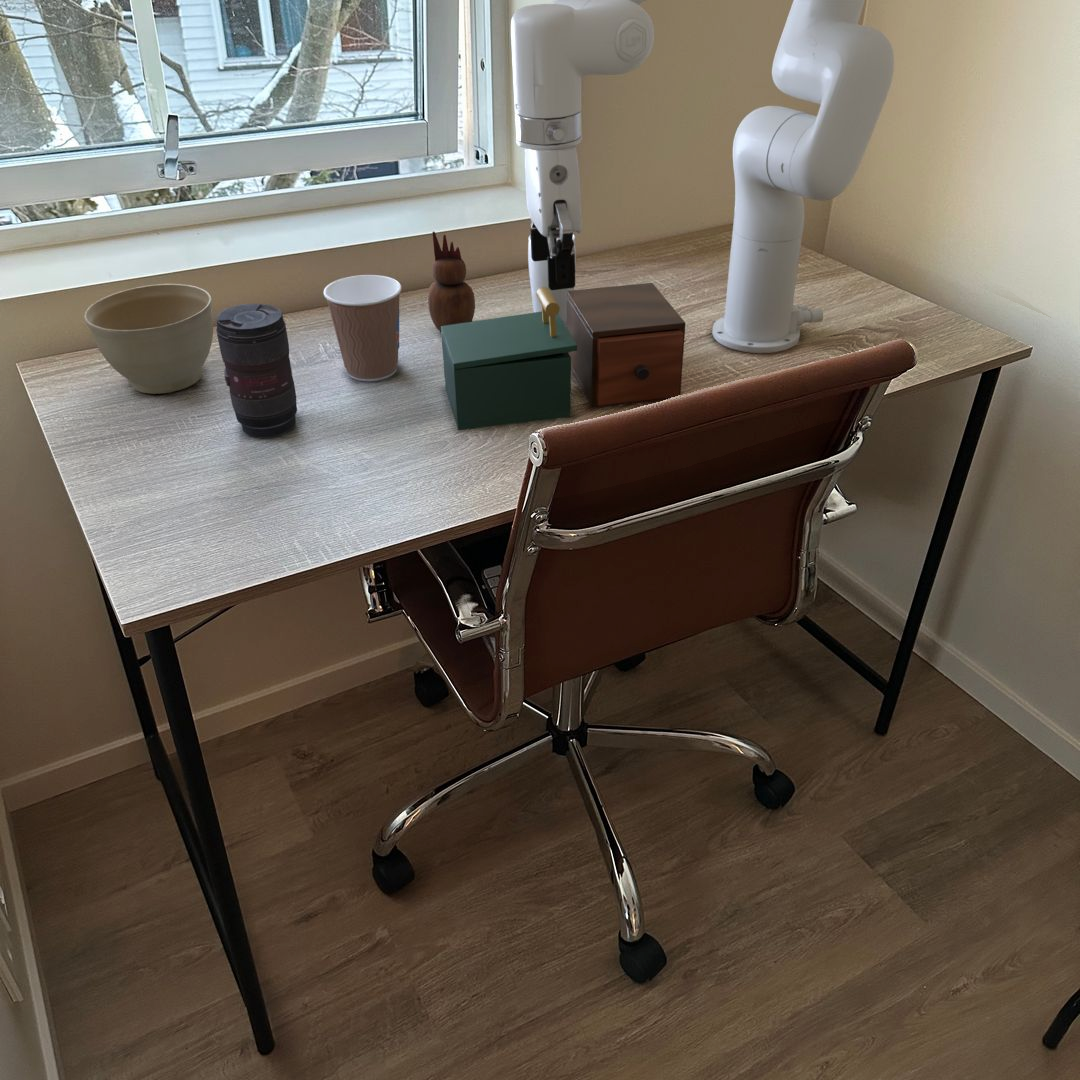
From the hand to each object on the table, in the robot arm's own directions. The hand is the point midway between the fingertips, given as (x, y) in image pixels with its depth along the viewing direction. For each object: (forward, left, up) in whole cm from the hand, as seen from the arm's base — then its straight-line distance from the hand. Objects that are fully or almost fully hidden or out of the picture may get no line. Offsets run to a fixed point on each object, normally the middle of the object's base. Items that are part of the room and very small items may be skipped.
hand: (552, 273), depth 126 cm
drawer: (-10, 0, -16) cm, 19 cm away
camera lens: (+37, -1, -17) cm, 41 cm away
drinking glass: (-4, -19, -17) cm, 26 cm away
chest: (+6, 0, -17) cm, 18 cm away
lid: (+6, 0, -8) cm, 10 cm away
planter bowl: (+51, -18, -17) cm, 57 cm away
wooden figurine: (+10, -25, -17) cm, 32 cm away
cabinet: (-10, -3, -17) cm, 20 cm away
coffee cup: (+23, -14, -17) cm, 32 cm away
